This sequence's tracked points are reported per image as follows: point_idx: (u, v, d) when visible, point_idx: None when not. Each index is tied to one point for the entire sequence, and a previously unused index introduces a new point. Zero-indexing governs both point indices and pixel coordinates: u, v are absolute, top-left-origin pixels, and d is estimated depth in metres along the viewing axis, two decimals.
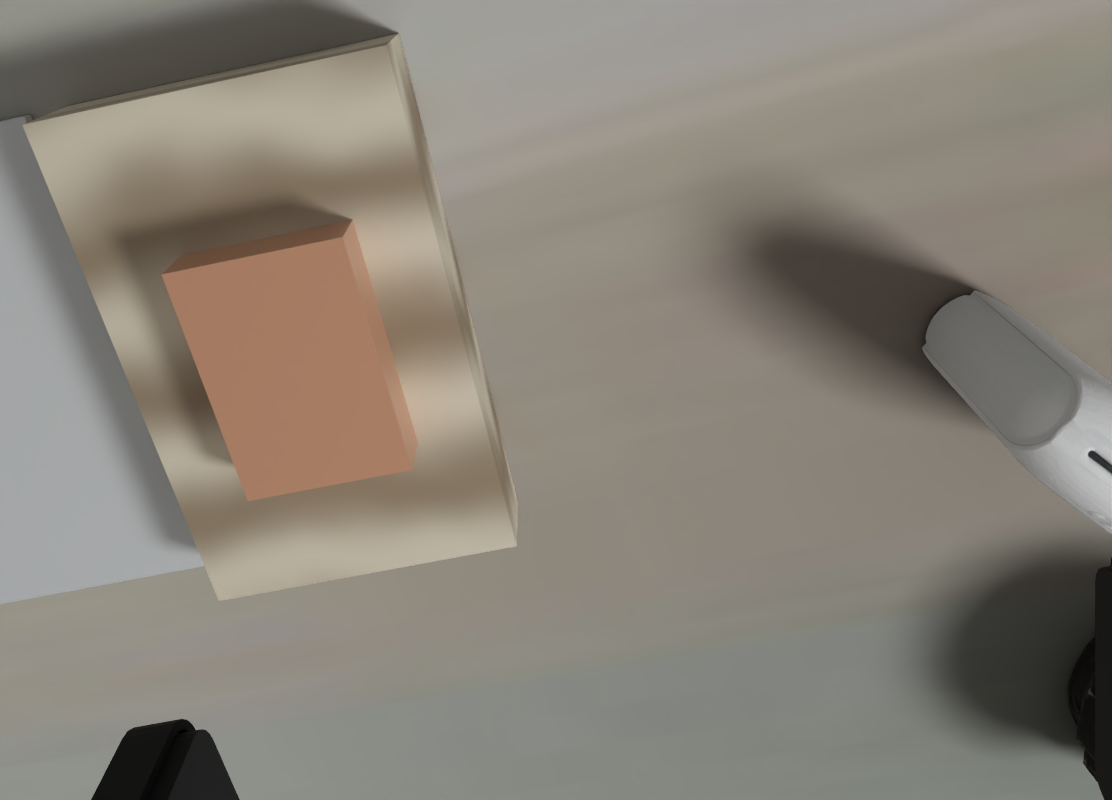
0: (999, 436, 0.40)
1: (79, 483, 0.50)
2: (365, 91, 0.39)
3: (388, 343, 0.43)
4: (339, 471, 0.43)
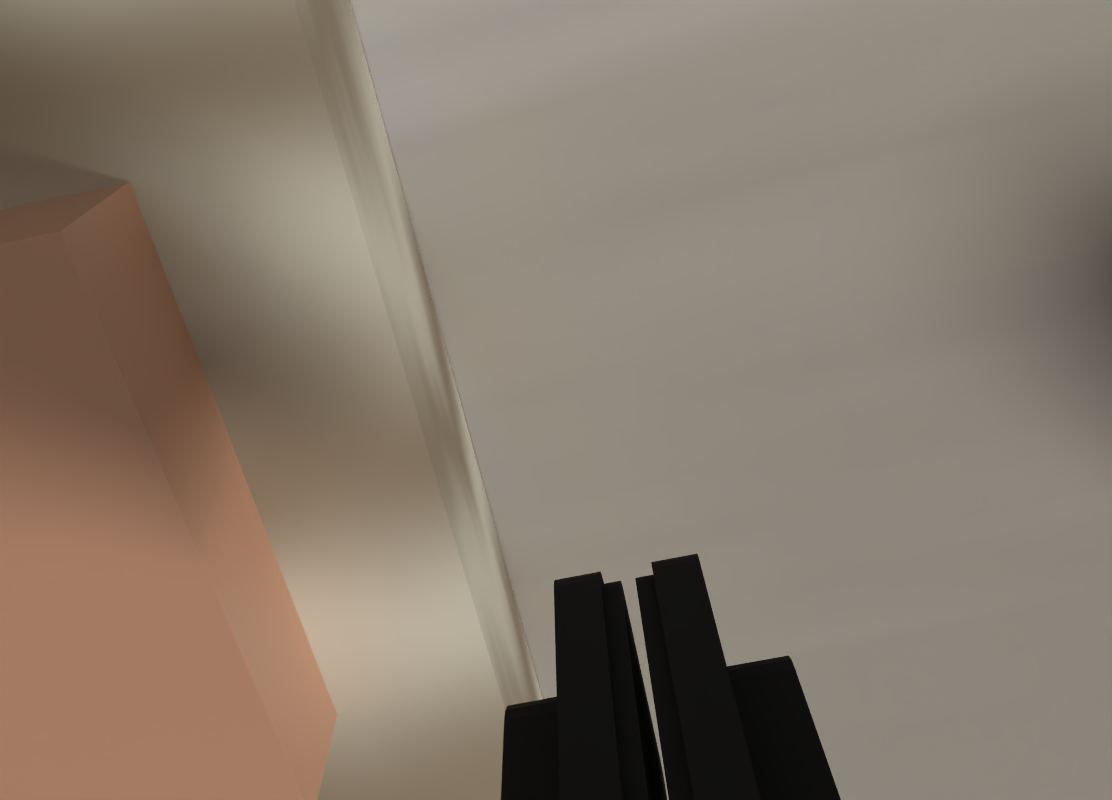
0: None
1: None
2: None
3: (250, 498, 0.17)
4: None
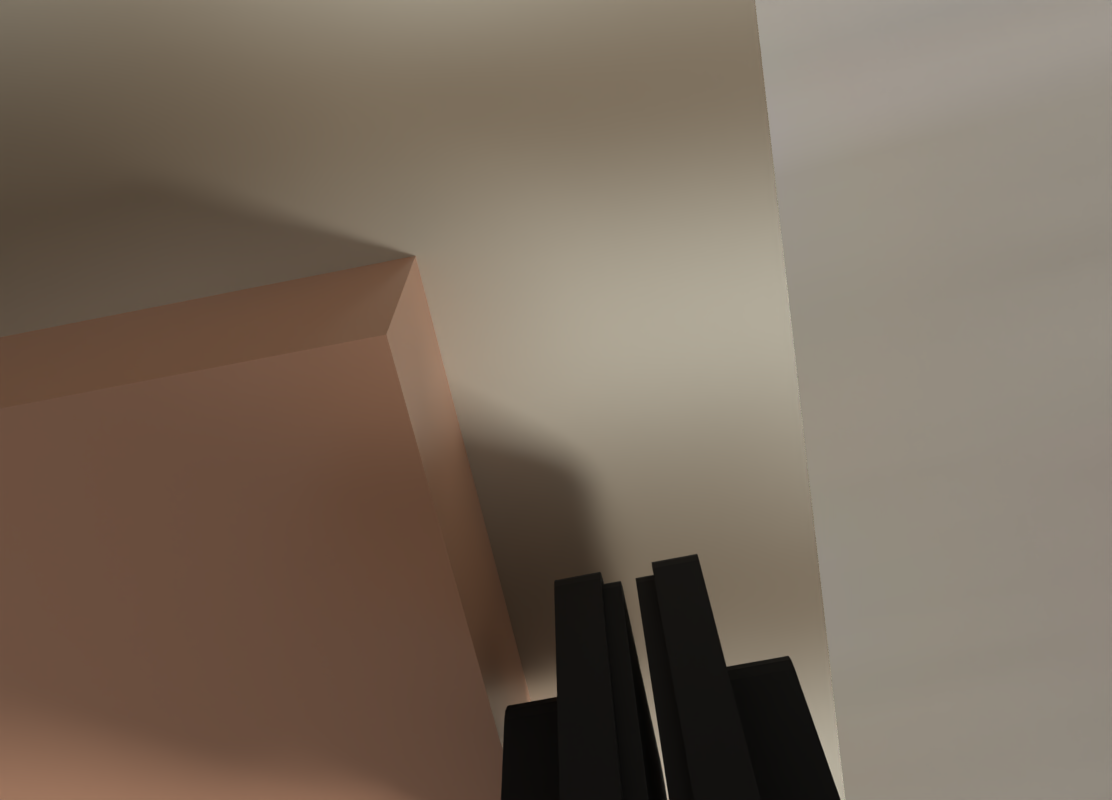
0: None
1: None
2: None
3: (517, 653, 0.13)
4: None
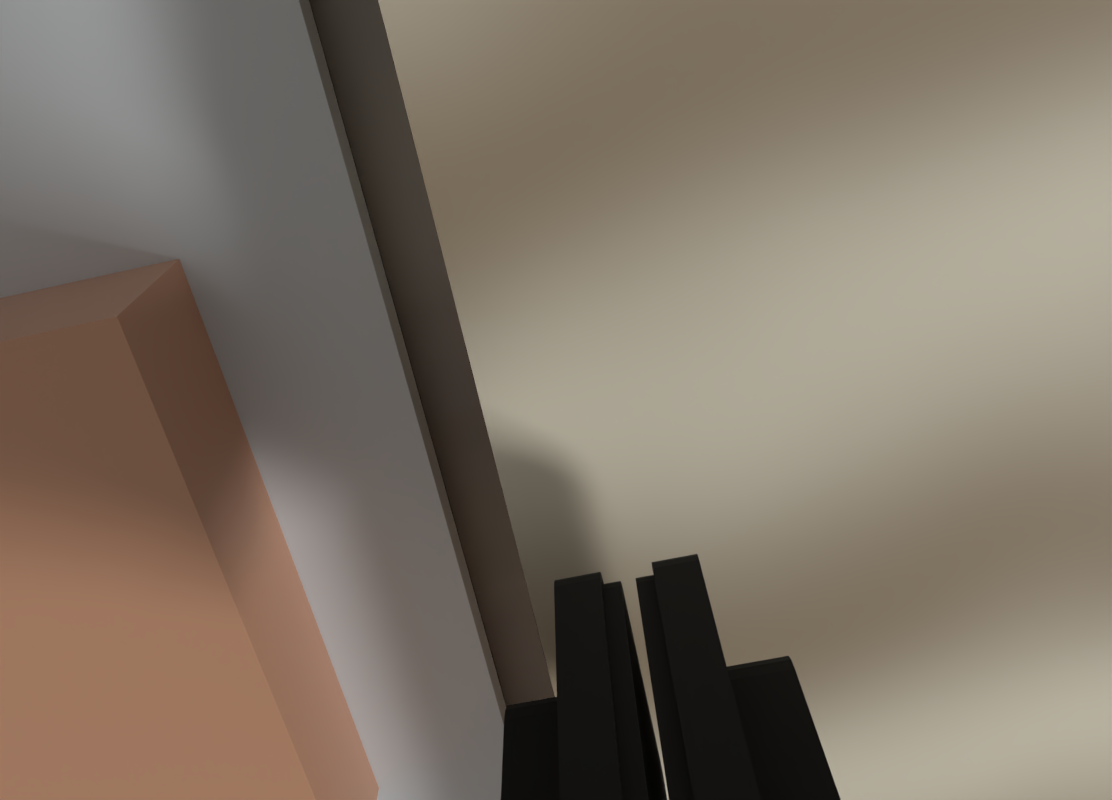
0: None
1: None
2: None
3: None
4: None
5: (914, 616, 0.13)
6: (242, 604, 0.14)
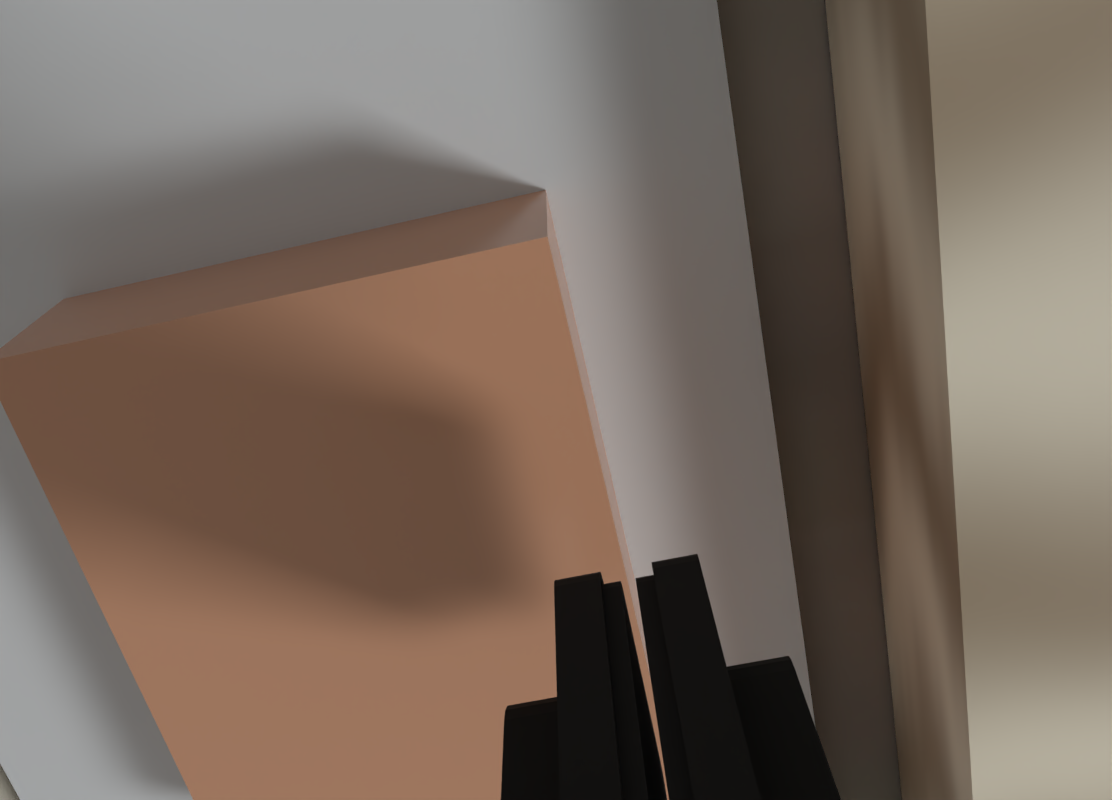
0: None
1: None
2: None
3: (147, 696, 0.15)
4: None
5: None
6: (619, 543, 0.14)
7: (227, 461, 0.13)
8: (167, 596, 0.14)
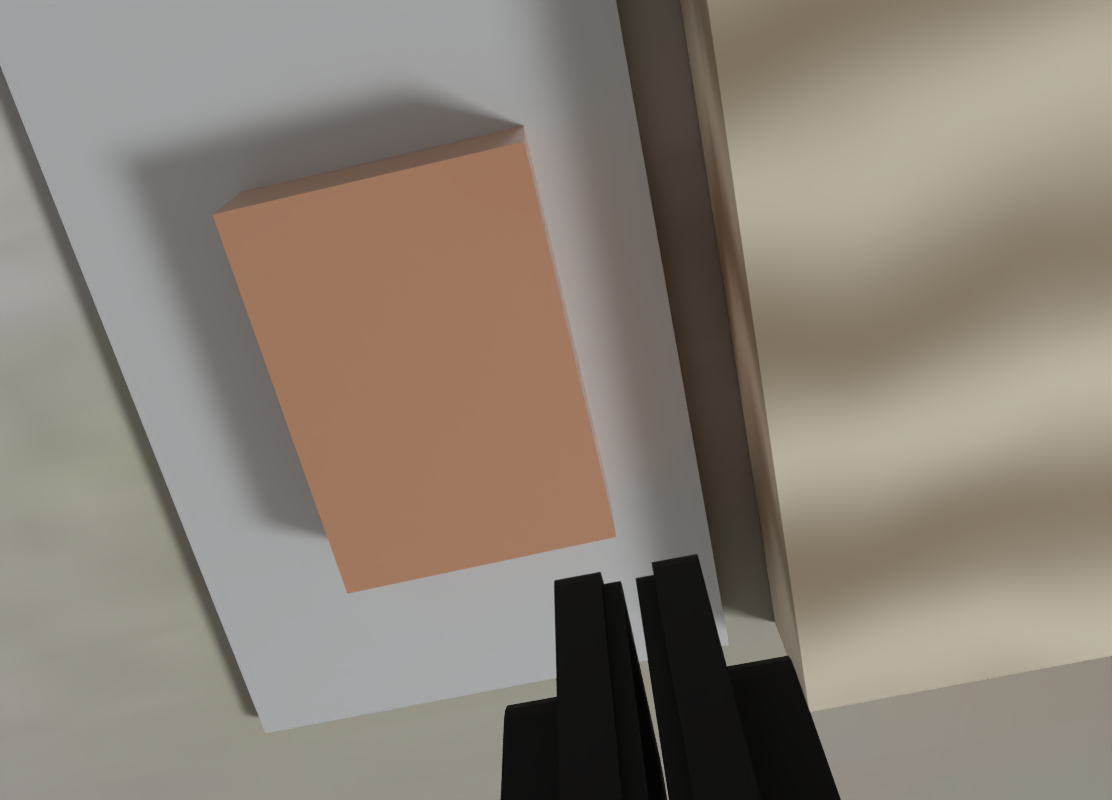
0: None
1: None
2: None
3: (289, 427, 0.25)
4: None
5: (967, 312, 0.23)
6: (567, 327, 0.24)
7: (345, 274, 0.24)
8: (306, 359, 0.24)
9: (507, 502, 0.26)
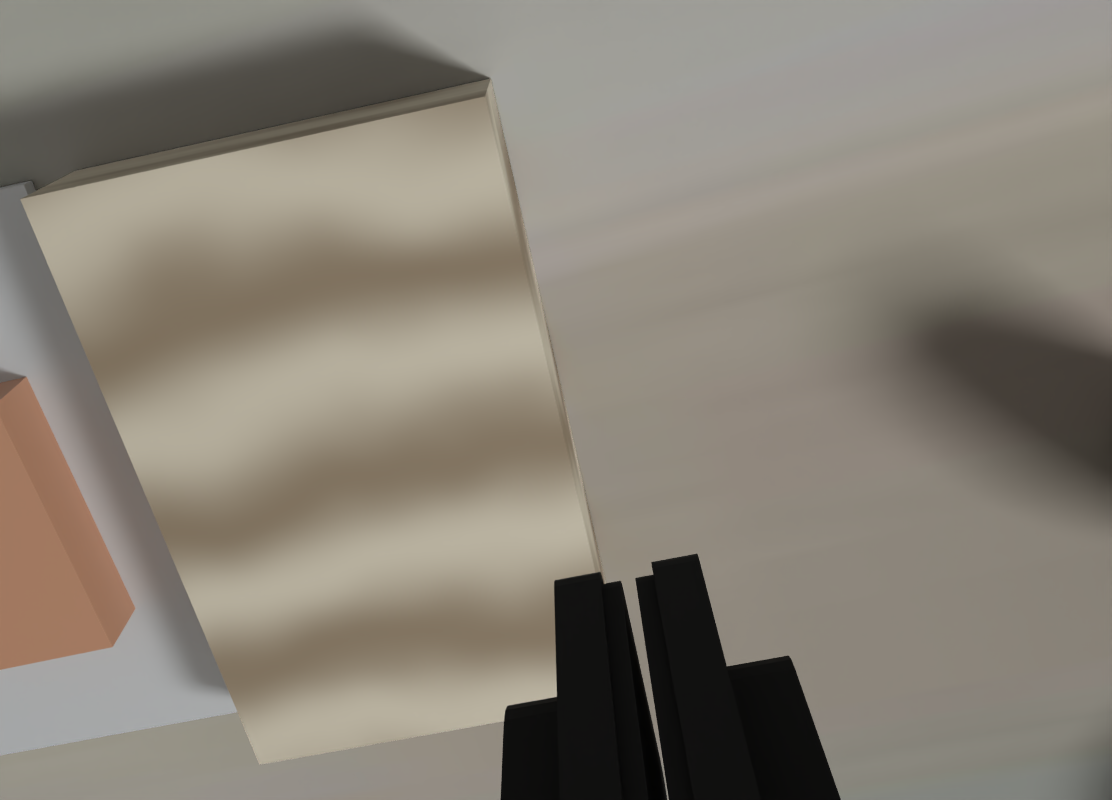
0: None
1: None
2: (457, 154, 0.31)
3: None
4: None
5: (297, 513, 0.35)
6: (51, 514, 0.37)
7: None
8: None
9: (33, 624, 0.38)
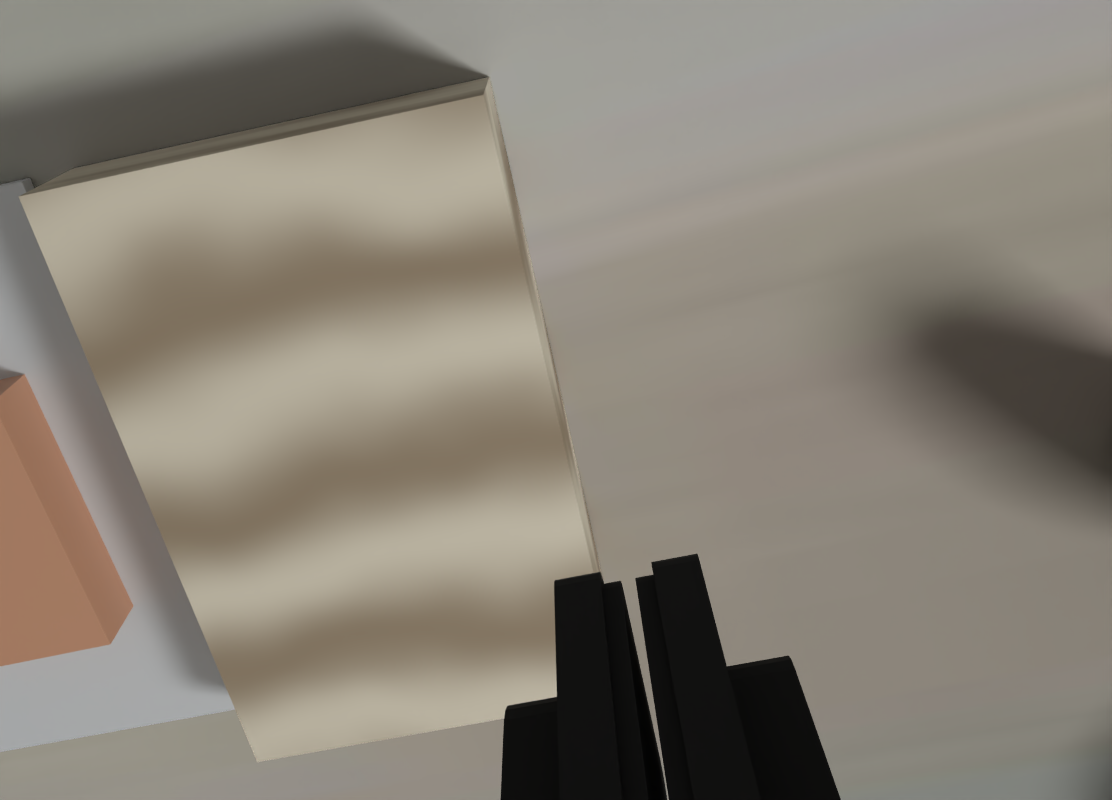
0: None
1: None
2: (455, 152, 0.31)
3: None
4: None
5: (295, 511, 0.35)
6: (49, 512, 0.37)
7: None
8: None
9: (30, 621, 0.38)
